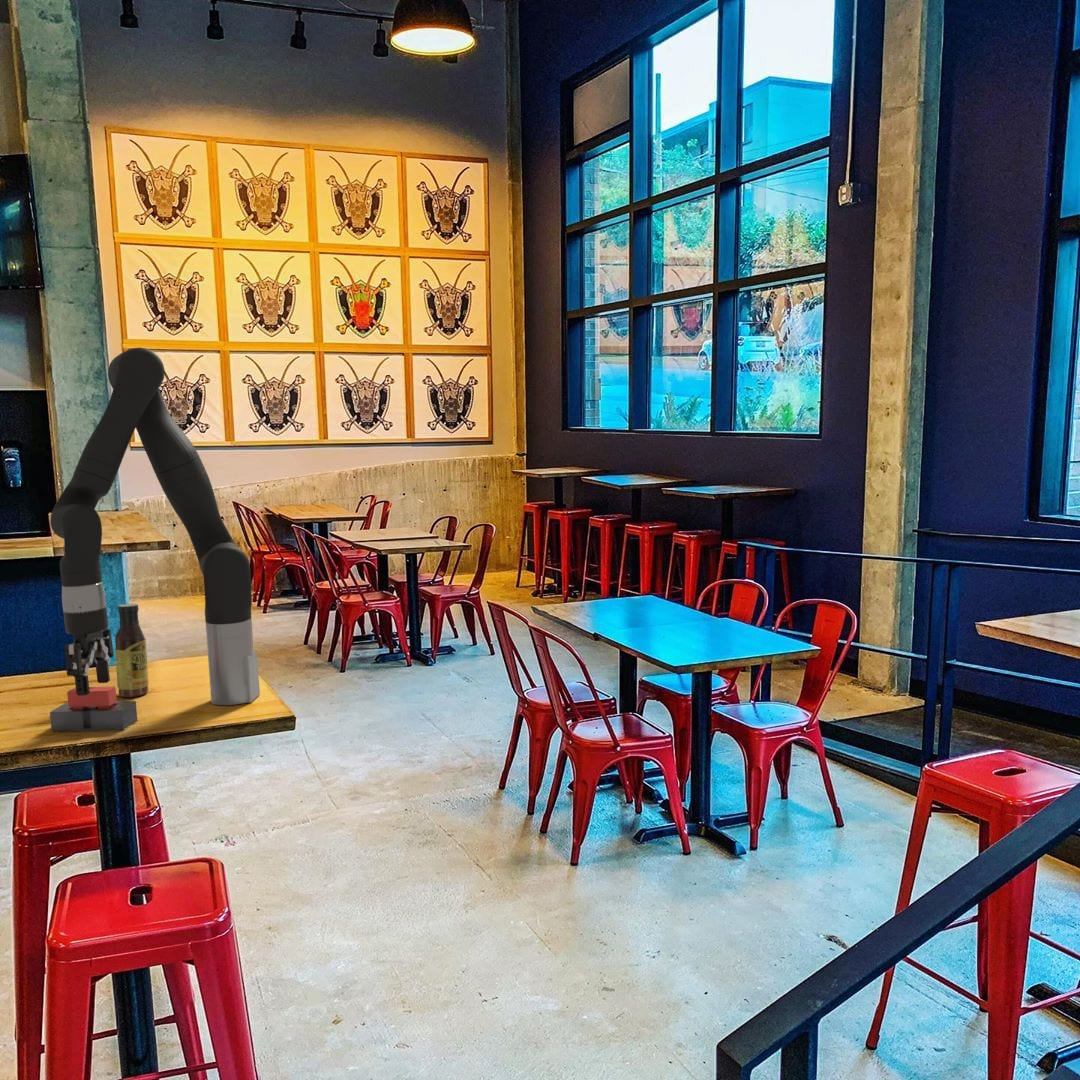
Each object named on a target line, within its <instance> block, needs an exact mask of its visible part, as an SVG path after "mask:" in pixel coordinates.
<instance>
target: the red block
mask: <svg viewBox="0 0 1080 1080" xmlns="http://www.w3.org/2000/svg"><path fill="white" fill-rule="evenodd" d="M116 689H117V688H116V686H91V687H90V686H89V690H90V693H89V694H88V695H82V696H78V695H77V693H76V686H75V687H73V688H71V689H69V690H68V691H67V692H66V693H67V695H66V696H67V703H68V706H69V707H73V709H86V708H88V706H98V709H111V708H112V707H113V703H115V702H118V700H117V693H116V692H117V690H116Z"/></svg>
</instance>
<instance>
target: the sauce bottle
mask: <svg viewBox="0 0 1080 1080" xmlns="http://www.w3.org/2000/svg"><path fill="white" fill-rule="evenodd" d="M117 609H118V610H117V611H118V613H119V615H118V616H119V628H118V630H117V633H116V634H115V637H114V641H115V647H114V648H115V649H114V652H115V653H114V654H115V664H116V665H115V666H116V669H115V670H116V679H117V681H116V682H117V683H116V684H117V689H118V696H119V697H121V698H134V697H140V696H144V695H146V694H147V693H148V692H149V684H150V683H149V670H148V654H147V653H148V652H147V651H148V650H147V639H146V637H145V635H144V633H143V631H142V628H141V627H140V626H141V625H140V624H139V623H140V621H139V605H138V603H126V604H119V605H117Z"/></svg>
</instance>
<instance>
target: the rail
mask: <svg viewBox="0 0 1080 1080" xmlns="http://www.w3.org/2000/svg"><path fill="white" fill-rule="evenodd" d="M49 718H50V729H51V732H52V731H79V732H101V731H100V730H121V731H125V730H126V729H125V728H127V727H128V726H129V727H131V726H132V725H134V724H135V723H136V722H138V712H137V701H136V700H129V701H126V700H124V701H123V700H122V701H116V702H115V703H113V707H112V708H111V709H98V706H88V708H86V709H73V707H69V706H68V702H65V703H63V704H61V705H59V706H58V707H56V708H54V709H52V710H51V711H49ZM131 724H132V725H131ZM130 725H131V726H130ZM129 727H128V728H129ZM128 728H127V729H128ZM124 729H125V730H124Z"/></svg>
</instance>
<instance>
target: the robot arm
mask: <svg viewBox="0 0 1080 1080" xmlns="http://www.w3.org/2000/svg"><path fill="white" fill-rule="evenodd" d="M165 371H166V370H165V366H164V363H163V361H162V359H161V358H160V356H159V355H158V354H156V352H154V351H153V350H152V349H148V348H147V347H146V348H145V347H134V348H133V347H132V348H130V349H127V350H125V351H122V352H121V353H119V354H117V356H115V357H114V358H113V359H111V362H110V363H109V366H108V368H107V378H108V381H109V384H110V386H111V388H112V392H111V395H110V398H109V401H108V403H107V406H106V408H105V409H104V412H103V414H102V415H101V418H100V420H99V422H98V423H97V425H96V427H95V428H94V430H93V431H92V434H91V435H90V437H89V439H88V441H87V443H85V446H84V449H83V450H82V453H81V455H80V457H79V459H78V461H77V464H76V466H75V468H74V469H75V470H74V471H73V475H72V478H71V479H70V481H69V482H68V484H67V485H66V487H65V488H64V489H63V492H62V493H61V495H60V496H59V498H58V499H57V501H56V502H55V504H54V507H53V508H52V512H51V514H50V520H49V522H50V523H49V524H50V528H51V530H52V531H53V533H54V534H55V535H56V536H57V537H59V538H61V539H63V543H64V544H63V546H64V555H63V556H61V559H60V560H59V573H60V578H61V579H60V580H61V602H62V603H61V604H62V610H63V611H62V612H63V621H64V628H65V633H67V634H68V635H72V636H73V643H66V644H65V645H64V657H65V658H64V659H65V669H66V671H65V672H66V675H67V676H69V677H70V676H71V677H73V678H74V684H75V687H76V693H77V695H78V696H82V695H88V694H89V693H90V690H89V687H90V681H89V675H88V673H89V668H90V666H92V665H93V662H94V663H95V669H96V670H95V671H96V672H95V673H96V680H97V683H98V684H107V683H109V682H111V681H110V680H111V677H110V668H109V664H110V661H111V659H113V658H114V656H115V655H114V654H115V653H114V652H115V651H114V645H113V640H112V639H113V638H112V630H111V628H109V618H108V609H107V601H106V600H107V599H106V592H105V588H104V583H103V578H102V577H103V576H102V567H101V561H100V559H101V558H100V557H101V550H102V541H103V528H102V527H103V525H102V520H101V517H100V515H99V513H98V512H97V510H96V507H97V506H98V503H99V501H100V500H101V499H102V498H104V497H105V496H107V495H108V494H109V492H110V491H111V488H112V487H113V484H114V482H115V479H116V477H117V475H118V472H119V469H120V466H121V464H122V462H123V459H124V457H125V454H126V452H127V449H128V446H129V445H130V441H131V439H132V438H133V437H132V436H133V435H134V432H135V430H136V431H137V434H138V436H139V439H140V441H141V445H142V446H143V449H144V451H145V453H146V455H147V458H148V460H149V462H150V464H151V466H152V470H153V472H154V474H155V477H156V479H157V480H158V483H159V485H160V487H161V489H162V491H163V492H164V493H163V494H164V495H165V496H166V498H167V500H168V502H169V504H170V505H171V506H172V509H173V510H174V512H175V514H176V515H177V517H178V518H179V520H180V521H181V523H182V524H183V526H184V528H185V529H186V532H187V533H188V536H189V538H190V541H191V543H192V546H193V549H194V552H195V555H196V558H197V561H198V564H199V567H200V568H199V569H200V571H201V575H202V578H203V588H204V589H203V590H204V618H205V620H204V622H205V632H206V634H205V635H206V648H207V650H206V651H207V659H208V660H207V661H208V675H209V688H210V692H209V693H210V698H211V699H210V701H211V703H212V704H213V705H218V706H235V705H241V704H242V705H243V704H247V703H248V704H249V703H252V702H254V701H255V700H256V699H257V698H258V697H259V696H260V695H261V694H260V691H261V690H260V677H259V676H260V675H259V663H258V662H259V661H258V660H259V659H258V652H257V651H255V649H254V635H253V633H254V632H253V620H252V619H253V618H252V608H253V607H252V605H253V604H252V603H253V597H252V595H253V594H252V577H251V566H250V561H249V558H248V557H247V554H245V553H244V551H243V550H241V549H240V548H239V547H238V545H237V544H236V542H235V541H234V538H233V537H232V535H231V534H230V532H229V530H228V528H227V527H226V525H225V523H224V521H223V518H222V517H221V514H220V511H219V508H218V503H217V500H216V496H215V493H214V489H213V485H212V483H211V480H210V477H209V474H208V472H207V469H206V467H205V465H204V463H203V461H202V459H201V457H200V455H199V453H198V451H197V449H196V448H195V446H194V444H193V442H192V441H191V440H190V439H189V437H188V436H187V435H186V434H185V432H184V431H183V430H182V429H181V427H179V425H178V424H177V423H176V421H175V419H174V418H173V417H172V416H171V414H170V412H169V410H168V407H167V405H166V403H165V401H164V398H163V396H162V393H161V391H160V387H161V386H162V384H163V382H164V380H165V373H166V372H165ZM72 664H73V665H72Z"/></svg>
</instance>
